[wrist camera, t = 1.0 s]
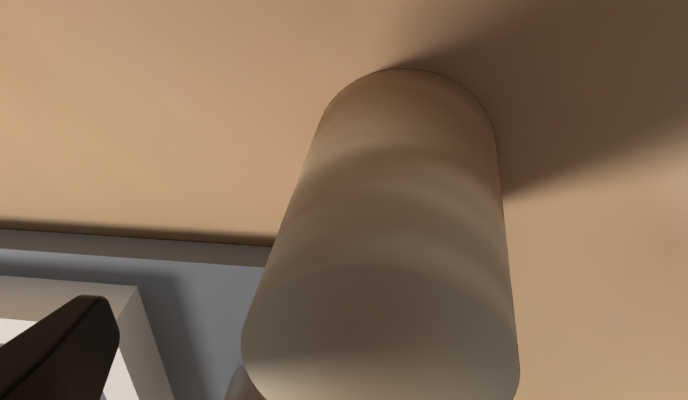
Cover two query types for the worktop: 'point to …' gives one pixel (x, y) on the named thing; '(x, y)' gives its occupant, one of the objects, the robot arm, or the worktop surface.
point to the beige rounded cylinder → (390, 255)
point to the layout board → (143, 306)
